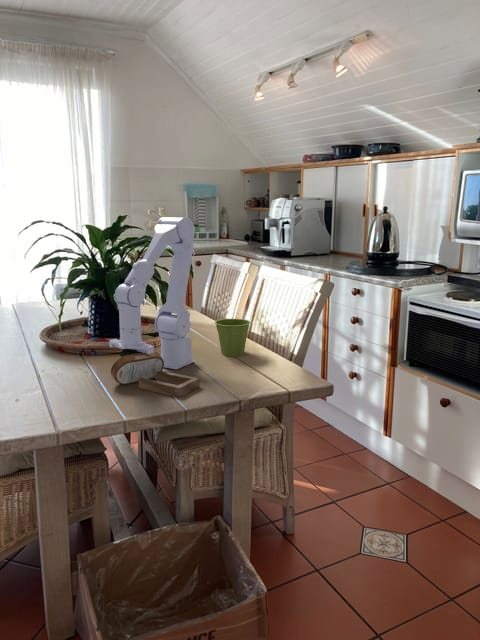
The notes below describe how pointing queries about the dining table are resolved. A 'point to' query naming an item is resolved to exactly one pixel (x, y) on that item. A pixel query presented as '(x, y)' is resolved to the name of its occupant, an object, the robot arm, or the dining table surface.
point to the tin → (136, 367)
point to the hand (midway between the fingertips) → (132, 375)
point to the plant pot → (232, 336)
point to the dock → (181, 388)
